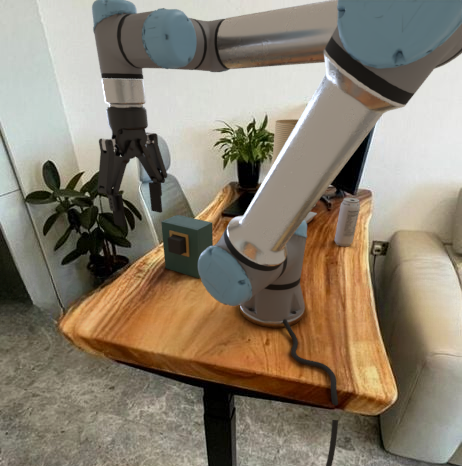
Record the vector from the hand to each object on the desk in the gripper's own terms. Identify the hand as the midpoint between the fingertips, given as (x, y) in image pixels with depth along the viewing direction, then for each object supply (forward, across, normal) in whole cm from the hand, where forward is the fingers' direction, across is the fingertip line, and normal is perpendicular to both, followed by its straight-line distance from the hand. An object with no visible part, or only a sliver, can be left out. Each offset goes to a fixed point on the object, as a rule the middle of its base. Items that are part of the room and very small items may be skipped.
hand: (139, 217), depth 79 cm
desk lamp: (+20, -74, +8) cm, 77 cm away
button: (+13, -14, 0) cm, 19 cm away
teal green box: (+20, -17, 0) cm, 26 cm away
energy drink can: (+20, -61, +32) cm, 72 cm away
